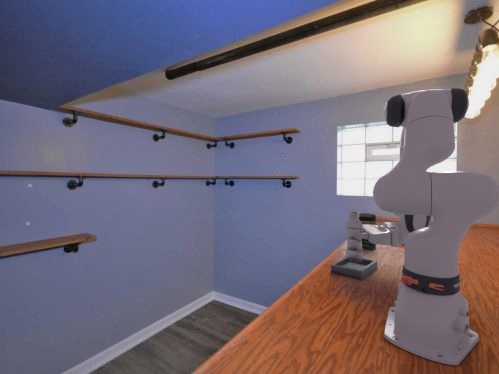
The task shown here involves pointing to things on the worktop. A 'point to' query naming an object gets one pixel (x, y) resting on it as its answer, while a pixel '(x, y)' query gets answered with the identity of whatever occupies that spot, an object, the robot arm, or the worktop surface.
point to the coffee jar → (369, 220)
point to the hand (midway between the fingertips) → (352, 232)
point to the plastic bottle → (354, 244)
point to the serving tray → (354, 268)
